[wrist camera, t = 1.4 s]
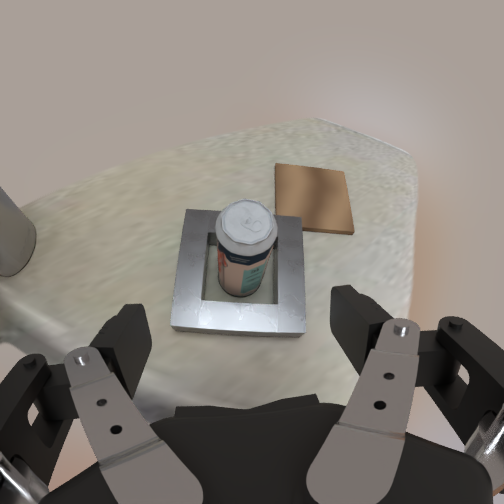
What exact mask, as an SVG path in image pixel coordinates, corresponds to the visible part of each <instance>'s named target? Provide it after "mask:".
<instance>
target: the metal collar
mask: <svg viewBox="0 0 504 504" xmlns="http://www.w3.org/2000/svg"><path fill="white" fill-rule="evenodd" d="M220 213H221V211H211V210H193V209H186V214H185V219H184V225H183V232H182V238H181V244H180V251H179V258H178V265H177V272H176V279H175V287H174V295H173V304H172V312H171V322H170V326H171V327H172V328H173V329H174V330H175V331H183V332H195V333H207V334H221V335H238V336H259V337H300V336H302V335H303V334H305V333H306V312H305V277H304V253H303V234H302V217H295V216H283V215H273V216H274V217H275V220H276V223H277V227H278V230H277V237H276V239H275V242H274V245H273V248H272V249H274V304H253V303H235V302H219V301H205V300H204V293H205V282H206V271H207V261H208V251H209V245H217V235H216V230H215V225H216V220H217V218H218V216H219V214H220Z"/></svg>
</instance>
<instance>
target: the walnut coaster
mask: <svg viewBox="0 0 504 504" xmlns="http://www.w3.org/2000/svg"><path fill="white" fill-rule="evenodd" d="M275 204H276V215H283V216H295V217H302V231H314V232H326V233H337V234H348V235H352V234H353V233H354V225H353V219H352V213H351V207H350V201H349V196H348V190H347V185H346V180H345V175H344V172H343V171H336V170H329V169H322V168H314V167H306V166H298V165H289V164H279V163H276V164H275Z"/></svg>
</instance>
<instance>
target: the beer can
mask: <svg viewBox="0 0 504 504" xmlns="http://www.w3.org/2000/svg"><path fill="white" fill-rule="evenodd" d="M215 230H216V235H217V251H218V269H219V272H218V278H219V283H220V285H221V286H222V288H223V289H224V290H225V291H226V292H227V293H229V294H231V295H233V296H239V297H243V296H247V295H250V294H252V293H253V292H255V291H256V290H257V289H258V287H259V286H260V284H261V281H262V278H263V275H264V272H265V269H266V266H267V263H268V260H269V257H270V254H271V251H272V248H273V245H274V242H275V239H276V237H277V230H278V227H277V223H276V220H275V217H274V216H273V214H272V213H271V211H270V210H269V209H268V208H267V207H265V206H264V205H263V204H262V203H261V202H259V201H254V200H249V199H242V200H239V201H236V202H233V203H230V204H229V205H228V206H227V207H226V208H224V209H223V210H222V211H221V213H220V214H219V216H218V218H217V220H216V225H215Z"/></svg>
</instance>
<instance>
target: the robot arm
mask: <svg viewBox="0 0 504 504" xmlns="http://www.w3.org/2000/svg"><path fill="white" fill-rule="evenodd" d="M35 240H36V232H35V228H34V225H33V224H32V222H31V221H30V220H29V219H28V218H27V217H26V216H25V215H24V214H23V213H22V211H21V210H20V209H19V208H18V207H17V206H16V205H15V204H14V202H13V201H12V200H11V199H10V198H9V196H8V195H7V194H6V193H5V192H4V190H3V189H2V188H1V187H0V275H2V276H6V277H7V276H12V275H14V274H16V273H17V272H19V271H20V270H21V269H22V268H23V267H24V266H25V264H26V263H27V262H28V260H29V258H30V256H31V254H32V252H33V249H34V245H35ZM330 327H331V331H332V334H333V335H334V337H335V338H336V340H337V341H338V343H339V345H340V346H341V348H342V349H343V351H344V352H345V354H346V356H347V357H348V359H349V360H350V362H351V363H352V365H353V367H354V368H355V370H356V371H357V373H358V374H359V376H360V377H359V380H358V382H357V384H356V386H355V389H354V391H353V393H352V395H351V397H350V399H349V402H348V404H347V406H343V405H339V404H333V403H319V400H318V398H317V395H316V394H311V395H305V396H299V397H293V398H286V399H281V400H278V401H274V402H271V403H268V404H265V405H261V406H258V407H255V408H251V409H234V408H224V407H216V406H183V407H176V411H175V416H173V417H169V418H165V419H162V420H159V421H156V422H154V423H152V424H150V425H149V424H148V423H147V422H146V420H145V419H144V418H143V416H142V415H141V413H140V412H139V411H138V409H137V408H136V406H135V405H134V403H133V402H132V400H133V397H134V394H135V391H136V389H137V386H138V383H139V380H140V378H141V375H142V372H143V370H144V367H145V364H146V362H147V359H148V357H149V354H150V351H151V348H152V339H151V334H150V330H149V326H148V322H147V318H146V313H145V309H144V306H143V305H142V304H125V305H124V306H123V308H122V309H121V310H120V312H119V313H118V315H117V316H114V317H112V318H111V319H109V320H108V321H107V322H106V323H105V324H104V326H103V327H102V329H101V330H100V331H99V332H98V334H97V335H96V337H95V338H94V339H93V341H92V342H91V343H90V345H89V346H88V347H80V348H77V349H75V350H73V351H71V352H69V353H68V354H67V355H66V356H65V358H64V364H57V365H48V363H47V361H46V358H45V357H44V356H43V355H42V354H31V355H27V356H25V357H23V358H22V359H20V360H19V361H18V362H17V363H16V365H15V366H14V367H13V368H12V370H11V371H10V372H9V373H8V375H7V376H6V377H5V378H4V380H3V381H2V382H1V384H0V504H493V496H495V495H496V494H498V493H501V494H504V350H503V349H501V348H500V347H499V346H498V345H497V344H496V343H494V342H493V341H492V340H491V339H489V338H488V337H487V336H486V335H485V334H483V333H482V332H481V331H480V330H478V329H477V328H476V327H475V326H473V325H472V324H471V323H469V322H468V321H467V320H465V319H463V318H459V317H454V316H449V317H444V318H442V319H441V320H440V321H439V324H438V329H437V330H432V331H420V327H419V326H418V324H417V323H415V322H413V321H411V320H408V319H402V318H396V319H394V318H393V317H392V316H391V315H389V314H388V313H387V312H386V311H385V310H384V309H383V308H382V307H381V306H380V305H379V304H377V303H376V302H375V301H374V300H373V299H372V298H371V297H368V296H366V295H364V294H359V293H358V292H357V291H356V290H355V289H354V288H353V287H352V286H351V285H343V286H335V287H332V290H331V305H330ZM461 364H462V365H463V366H464V367H465V369H466V370H467V371H468V373H469V384H468V385H467V384H466V383H465V382H464V381H463V380H462V378H461V377H460V376H459V375H458V372H459V369H460V366H461ZM420 386H423V387H424V388H425V390H426V391H427V392H428V394H429V395H430V396H431V398H432V399H433V401H434V402H435V404H436V405H437V406H438V408H439V409H440V411H441V412H442V413H443V415H444V416H445V418H446V419H447V420H448V422H449V423H450V425H451V426H452V428H453V429H454V431H455V432H456V434H457V435H458V436H459V438H460V439H461V441H462V442H463V444H464V445H465V449H464V453H463V452H460V451H457V450H454V449H451V448H448V447H445V446H442V445H439V444H437V443H434V442H431V441H428V440H426V439H423V438H421V437H418V436H415V435H413V434H410V433H408V432H406V428H407V423H408V419H409V414H410V409H411V405H412V400H413V394H414V389H415V387H420ZM32 403H34V405H35V406H36V408H37V410H38V411H39V413H38V415H37V417H36V419H35V421H34V423H33V424H32V426H31V425H30V424H29V421H28V410H29V408H30V407H31V405H32ZM77 418H80V420H81V423H82V426H83V428H84V431H85V433H86V435H87V438H88V440H89V442H90V445H91V447H92V449H93V451H94V454H95V456H96V458H97V460H98V461H97V462H96V463H94V464H93V465H91V466H90V467H89V468H87V469H86V470H84V471H83V472H81V473H80V474H78V475H77V476H75V477H73V478H72V479H70V480H69V481H67V482H66V483H64V484H63V485H61V486H59V487H58V488H56V489H55V490H53V491H52V492H49V489H48V485H49V482H50V479H51V476H52V473H53V471H54V468H55V465H56V462H57V459H58V457H59V454H60V452H61V449H62V447H63V444H64V441H65V439H66V437H67V434H68V432H69V429H70V427H71V425H72V422H73V419H77Z"/></svg>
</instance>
